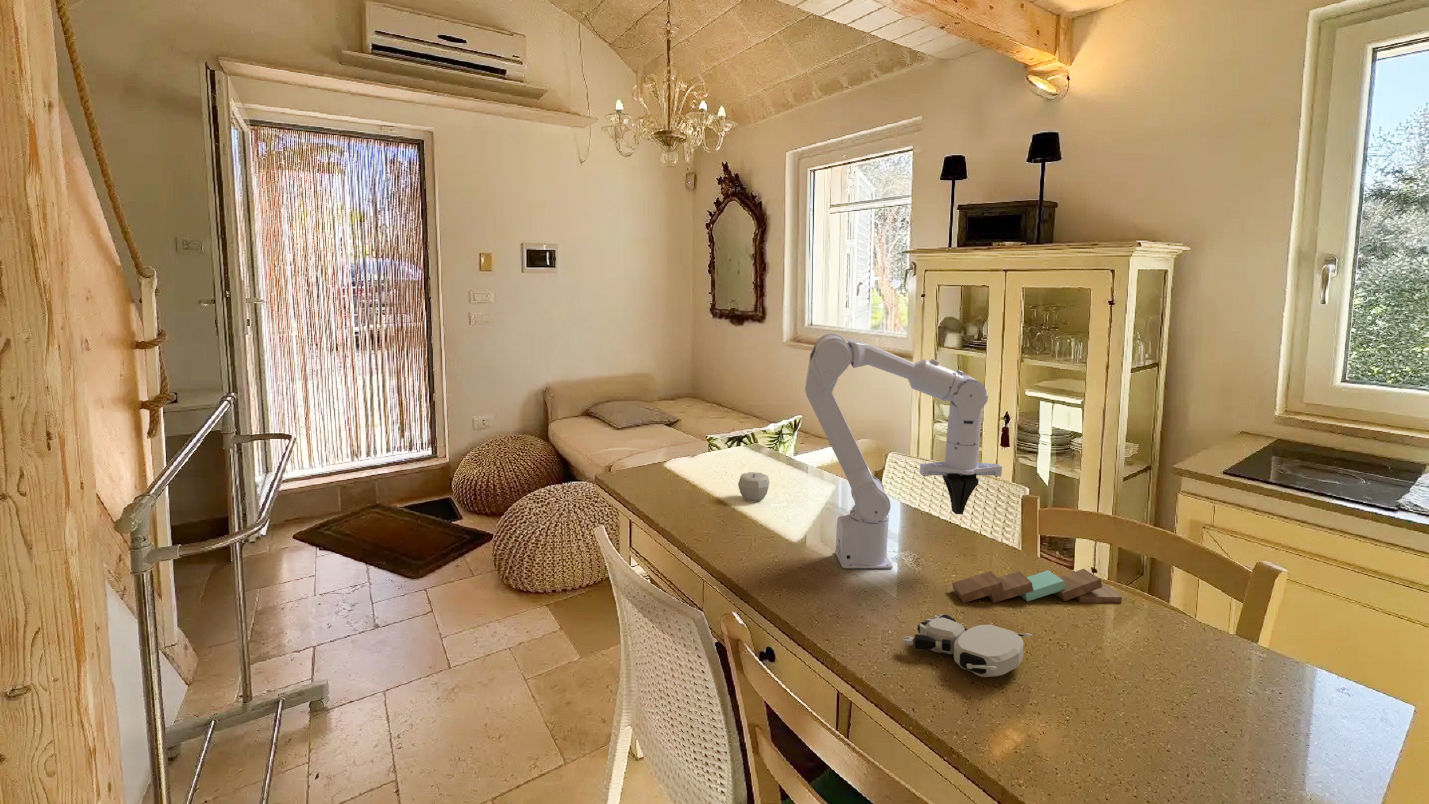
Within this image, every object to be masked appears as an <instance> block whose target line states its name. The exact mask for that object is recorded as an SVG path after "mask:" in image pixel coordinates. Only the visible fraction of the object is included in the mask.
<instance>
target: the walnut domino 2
mask: <svg viewBox="0 0 1429 804" xmlns="http://www.w3.org/2000/svg"><path fill="white" fill-rule="evenodd" d="M1026 577H1027V576H1025V575H1024V573H1022V572H1021V571H1016V572H1012V573H1010V574H1006V575H1002V576H1000V577H997V578H998V579H999V580H1000V581H1001V582H1002V585H1003V589H1004V591H1001V592H998V593H995V594H991V595H988V596H987V598H989V600H990V601H991V602H992V603H993V604H995V603H997V602H998V603H999V602H1001V601H1004V600H1008V599H1011V598H1015V597H1018V596H1020V595H1022V594H1025V593H1029V592H1032V591H1034V590H1033V586H1032V582H1031V581H1030V580H1029V579H1027V578H1026Z"/></svg>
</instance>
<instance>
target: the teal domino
mask: <svg viewBox="0 0 1429 804" xmlns="http://www.w3.org/2000/svg"><path fill="white" fill-rule="evenodd" d="M1025 577H1026V578H1027V579H1029V580H1030V581H1031V582H1032V586H1033V590H1034V591H1032V592H1029V593H1025V594H1022V595H1019V596H1020V598H1022V599H1023V600H1025V601H1026V602H1030V601H1033V600H1037V599H1039V598H1043V597H1045V596H1049V595H1052V594H1054V593H1055V592H1058V591H1061V590H1065V584H1064V580H1062V579H1061V578H1060V576H1058V575H1056V574H1055V573H1053V572H1051V570H1048V569H1047V570H1044V571H1042V572H1039V573H1038V572H1037V573H1036V574H1032V575H1029V576H1025Z"/></svg>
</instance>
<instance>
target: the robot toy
mask: <svg viewBox="0 0 1429 804" xmlns="http://www.w3.org/2000/svg"><path fill="white" fill-rule="evenodd" d="M917 632H918V633H919V634H917V633H915V635H914V637H912V636H911V635H904V637H903V639H902V642H903V644H904V645H905V646H909V647H910V646H914V649H915V650H921V651H929V650H930V651H932V652H936V653H939V654H941V653H943V654H948V655H953V658H954V659H953V660H954V662H955V663H956V664H957V665H958V666H959V667H960V668H961V669H963V670H966V671H969V672H972V673H973V674H975V675H976V676H978V677H980V678H988V677H999V676H1002V675H1005V674H1008V673H1009V672H1011V671H1012V670H1014V669H1016V668H1017V667H1019V666H1020V664H1021V662H1022V661H1023V658H1024V640H1023V638H1022V637H1026V638H1031V637H1032V636H1033V634H1032V633H1017V632H1015V631H1014V630H1010V629H1008V628H1002V627H1000V626H996V625H993V624H979V625H975V626H972V627H970V628H967V627H965V626H963V624H961V623H959V622H957V621H956V619H955V618H953V617H952V616H950V615H948V614H942V613H940V614H937V615H934V616H933V618H927V619H926V618H925V619H924V621H921V622H919V624H918V625H917Z"/></svg>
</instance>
